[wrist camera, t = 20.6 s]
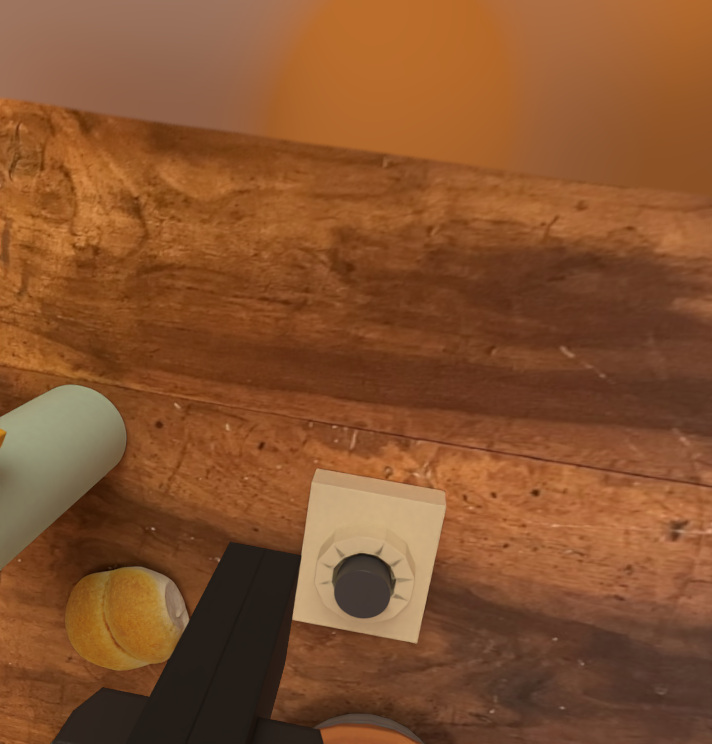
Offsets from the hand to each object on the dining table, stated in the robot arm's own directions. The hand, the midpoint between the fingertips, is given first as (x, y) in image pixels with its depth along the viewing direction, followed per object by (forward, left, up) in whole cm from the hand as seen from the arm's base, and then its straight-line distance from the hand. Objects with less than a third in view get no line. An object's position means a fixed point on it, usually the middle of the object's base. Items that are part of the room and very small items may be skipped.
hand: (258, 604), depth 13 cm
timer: (+14, -8, -28) cm, 32 cm away
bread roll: (+9, -27, -28) cm, 40 cm away
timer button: (+14, -8, -24) cm, 29 cm away
